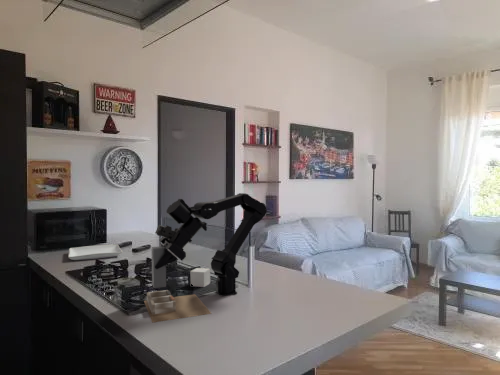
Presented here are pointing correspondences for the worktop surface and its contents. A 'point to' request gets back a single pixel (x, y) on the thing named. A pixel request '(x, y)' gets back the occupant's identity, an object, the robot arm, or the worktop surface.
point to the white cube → (200, 277)
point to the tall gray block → (160, 273)
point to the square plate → (94, 252)
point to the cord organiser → (173, 306)
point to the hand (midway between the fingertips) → (154, 266)
